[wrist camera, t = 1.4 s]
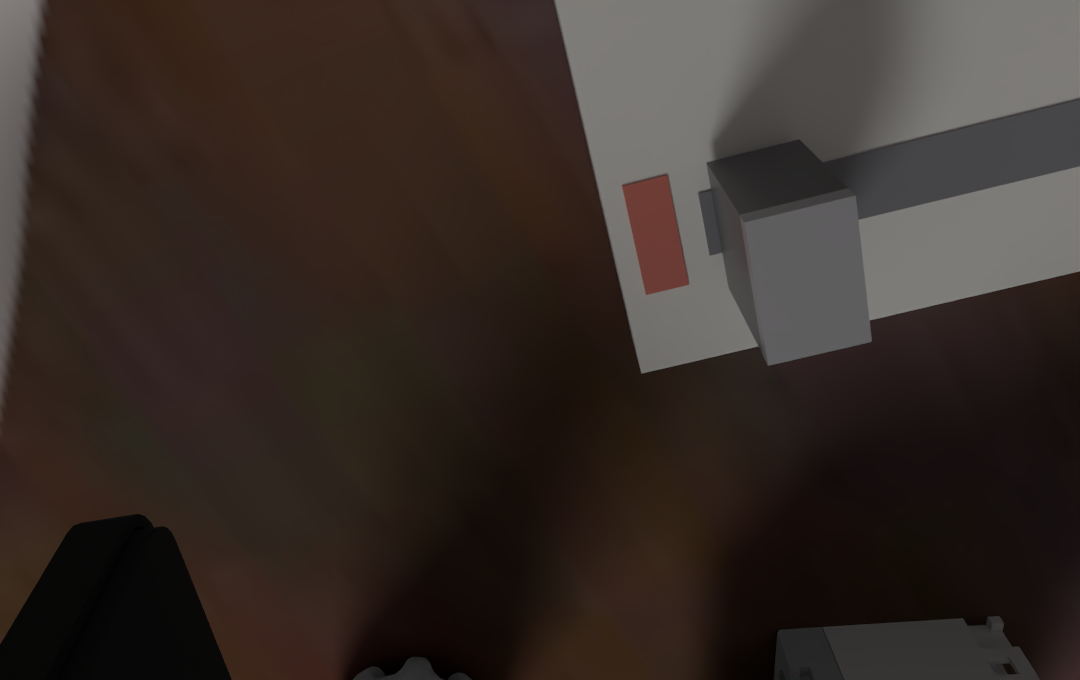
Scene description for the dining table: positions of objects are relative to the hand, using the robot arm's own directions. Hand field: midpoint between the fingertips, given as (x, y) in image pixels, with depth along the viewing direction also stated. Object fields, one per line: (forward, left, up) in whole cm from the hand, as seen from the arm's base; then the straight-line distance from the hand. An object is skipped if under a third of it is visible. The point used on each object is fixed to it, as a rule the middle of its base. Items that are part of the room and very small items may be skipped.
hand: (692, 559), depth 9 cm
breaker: (-4, +4, -17) cm, 18 cm away
